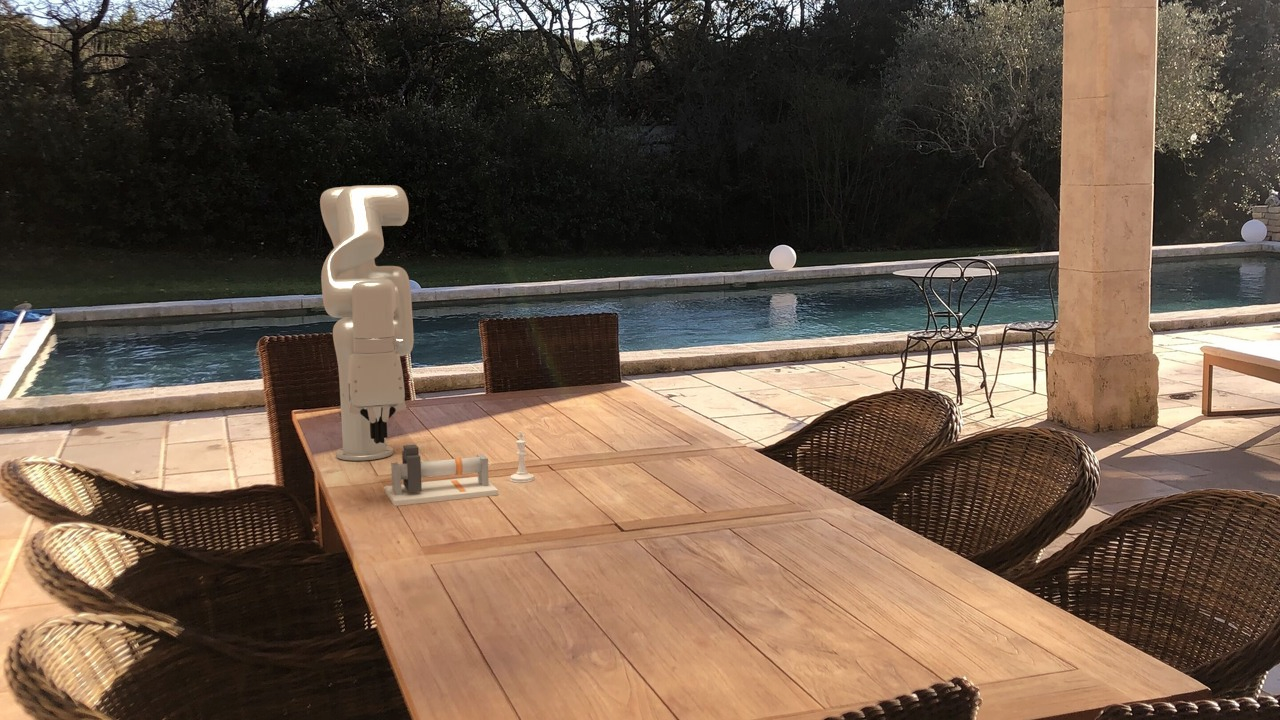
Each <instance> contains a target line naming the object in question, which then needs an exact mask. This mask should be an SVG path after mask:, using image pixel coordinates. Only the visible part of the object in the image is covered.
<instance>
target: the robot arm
mask: <svg viewBox="0 0 1280 720" xmlns="http://www.w3.org/2000/svg"><path fill="white" fill-rule="evenodd" d="M406 194H407V193H406V192H405V190H404V189H403V188H402V187H400V186H398V185H393V184H392V185H391V184H389V185H388V184H387V185H384V184H383V185H381V184H380V185H377V184H376V185H375V184H374V185H372V184H371V185H368V184H367V185H364V184H363V185H352V186H340V187H337V186H336V187H332V188H328V189H326V190H324V191H323V192H322V193H321V196H320V198H319V200H320V201H319V204H320V205H319V207H320V212H321V216H322V220H323V223H324V226H325V228H326V230H327V233H328V234H329V237H330V239H331V242H332V245H333V248H332V250H331V251H330V252H329V254H328V255H327V256H326V259H325V261H324V262H323V266H322V269H321V273H320V274H321V275H320V278H321V279H320V281H321V293H322V303H323V306H324V307H323V308H324V310H325V312H326V313H327V314H328V315H329V316H330V317H332V318H337V319H339V320H337V322H336V323H335V324H334V325H333V328H332V339H333V344H334V345H333V346H334V350H335V355H336V360H337V366H338V367H337V369H338V378H339V379H338V380H339V397H340V398H339V399H340V414H341V415H340V416H341V417H340V419H341V436H342V437H341V439H342V447H340V448H339V449H337V450H336V451H335V457H336V458H337V459H339V460H343V461H351V462H352V461H353V462H354V461H355V462H359V461H360V462H361V461H371V460H372V461H373V460H379V459H384V458H387V457H390V456H392V455H393V453H394V448H393V447H392V446H390V445H387V441H386V440H387V438H388V421H389V420H390V418H391V417H392V416H393V415H395V413H397V412H401V411H404V410H406V409H407V405H406V402H405V398H406V394H405V393H406V391H405V383H404V373H403V367H402V362H401V357H404V356H407V355H409V354H410V353H412V351H413V348H414V341H415V339H414V325H413V324H414V322H413V305H412V291H411V289H412V288H411V281H410V278H409V275H408V273H407V271H406V270H405V268H403V267H401V266H395V265H381V266H380V265H379V266H378V265H376V262H375V259H376V258H377V257H379V255H380V254H382V252H383V250H384V247H385V242H384V240H385V239H384V236H383V229H382V226H383V227H388V226H389V227H391V226H393V227H395V226H397V227H399V226H400V227H401V226H403V225H405V224H406V222H407V221H408V219H409V218H408V217H409V209H410V208H409V201H408V197H407V195H406Z"/></svg>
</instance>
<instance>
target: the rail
mask: <svg viewBox="0 0 1280 720" xmlns="http://www.w3.org/2000/svg"><path fill="white" fill-rule="evenodd" d="M390 467H391V469H390V470H391V485H384V492H385V494H386V495H387V497H388V499H389V500H390V502H391V503H392V505H393V506H394V507H399V506H406V505H417V504H426V503H434V502H435V503H436V502H445V501H453V500H464V499H472V498H473V499H474V498H481V497H483V498H484V497H492V496H498V495H499V490H498V488H496V486H494V484H492V482H491V481H489V458H488V457H487V456H486V455H485V454H477V455H476V456H474V457H473V456H472V457H463V458H462V457H456V458H455V457H454V458H453V459H452V458H450V459H442V460H430V461H421V479H423V478H432V477H441V476H443V477H444V476H452V475H455V476H460V475H463V474H464V475H465V474H472V473H473V474H474V473H477V476H472V477H462V478H454V479H453V478H451V479H442V480H434V481H433V480H431V481H423V482H422V481H421V484H422V491H421V492H411V493H409V492H408V490H407V489H406V487H405V486H404V485H403V483H402V481H403V479H408V471H407V464H403V463H398V461H395V462H391V463H390Z"/></svg>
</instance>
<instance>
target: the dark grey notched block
mask: <svg viewBox="0 0 1280 720" xmlns="http://www.w3.org/2000/svg"><path fill="white" fill-rule="evenodd" d="M402 449H403V450H401V455H402V456H401V458H402V460H401V461H402V463H401V464H407V471H408V479H403V480H402V484H403V485H404V486H405V487H406V489H407V490H408V492H409V493H411V492H421V491H422V484H421V482H422V478H421V462H422V461H421V456H420V453H419V447H418V445H417V444H405V445H403V448H402Z"/></svg>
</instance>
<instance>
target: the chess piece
mask: <svg viewBox="0 0 1280 720" xmlns="http://www.w3.org/2000/svg"><path fill="white" fill-rule="evenodd" d="M516 437H517V438H519V439H518V440H516V446H517V448H518V451H516V453H515V454H516V455H518V465H517V466H518V467H517V471H516V473H513V474H511V475H510V477H509V478H510V479H509V480H510V481H511V482H513V483H520V484H521V483H530V482H532V481H534V480H535V475H534V474H532V473H529V471H528V470H527V467H526V462H525V455H527V451H526V450H525V447H526V443H527V441H526V440H525V439H523V438H526V434H523V431H519V434H516Z"/></svg>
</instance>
